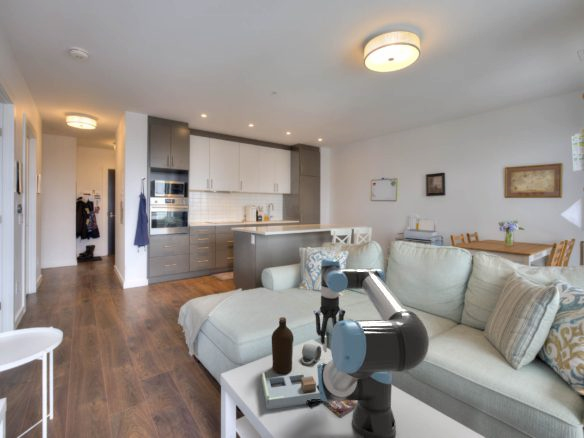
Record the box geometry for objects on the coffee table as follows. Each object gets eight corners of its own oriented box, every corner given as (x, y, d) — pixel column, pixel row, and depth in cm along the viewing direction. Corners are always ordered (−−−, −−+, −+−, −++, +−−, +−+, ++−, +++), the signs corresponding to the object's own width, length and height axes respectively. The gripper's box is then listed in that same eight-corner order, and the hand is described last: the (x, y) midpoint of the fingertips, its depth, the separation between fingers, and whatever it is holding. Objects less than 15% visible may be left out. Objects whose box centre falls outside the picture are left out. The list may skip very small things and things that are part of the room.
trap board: (320, 401, 115) (320, 388, 114) (266, 409, 110) (266, 396, 110) (309, 377, 130) (309, 366, 130) (262, 383, 126) (262, 372, 125)
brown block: (315, 392, 116) (315, 383, 116) (304, 394, 115) (304, 384, 115) (312, 385, 121) (312, 376, 121) (301, 386, 120) (301, 377, 120)
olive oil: (274, 377, 131) (274, 324, 129) (269, 364, 141) (269, 315, 139) (296, 372, 134) (296, 321, 133) (289, 361, 144) (289, 313, 143)
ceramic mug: (307, 353, 152) (307, 339, 151) (321, 357, 147) (321, 343, 147) (297, 363, 143) (297, 348, 142) (312, 368, 138) (312, 352, 138)
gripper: (344, 291, 123) (343, 343, 125) (308, 293, 120) (308, 347, 121) (352, 297, 116) (351, 352, 117) (313, 299, 113) (313, 357, 114)
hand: (329, 350), depth 119 cm, fingers open, 3 cm apart
